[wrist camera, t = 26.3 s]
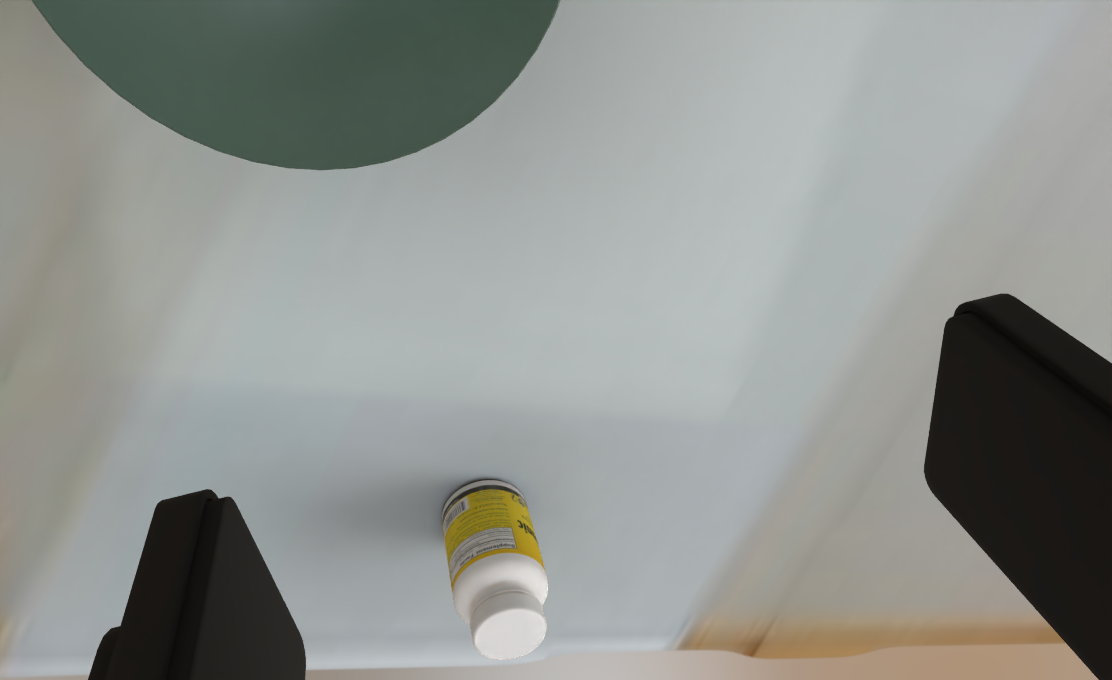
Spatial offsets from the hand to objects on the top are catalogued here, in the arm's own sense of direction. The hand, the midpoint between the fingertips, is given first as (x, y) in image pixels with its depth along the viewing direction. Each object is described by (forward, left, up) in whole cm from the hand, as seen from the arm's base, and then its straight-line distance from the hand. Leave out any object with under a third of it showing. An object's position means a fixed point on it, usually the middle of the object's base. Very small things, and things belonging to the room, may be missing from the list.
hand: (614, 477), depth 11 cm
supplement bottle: (-7, +28, -31) cm, 42 cm away
